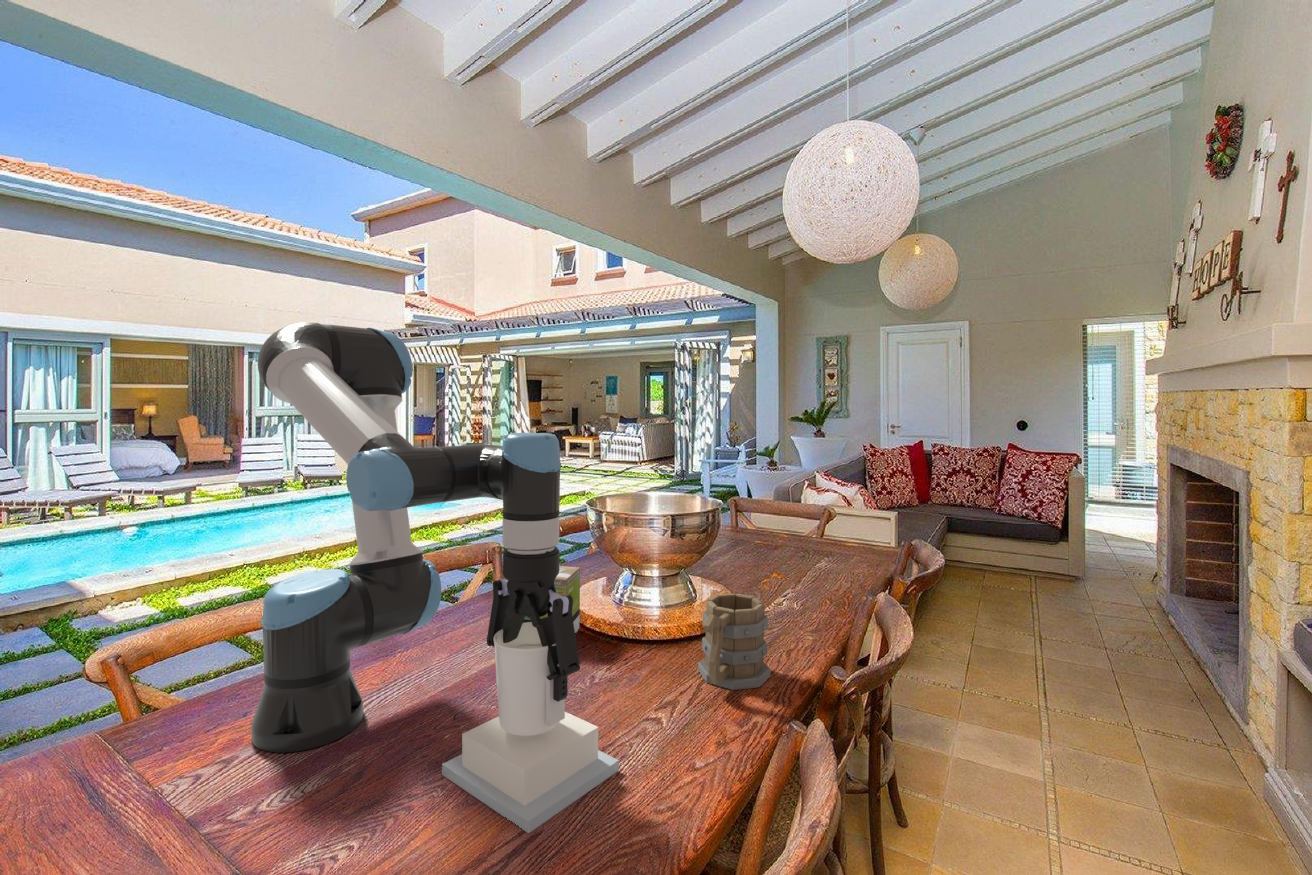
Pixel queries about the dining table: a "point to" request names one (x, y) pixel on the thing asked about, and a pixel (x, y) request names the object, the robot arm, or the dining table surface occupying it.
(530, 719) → the candle holder
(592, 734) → the pedestal
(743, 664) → the tankard
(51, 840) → the dining table surface
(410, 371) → the robot arm
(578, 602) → the tea box
